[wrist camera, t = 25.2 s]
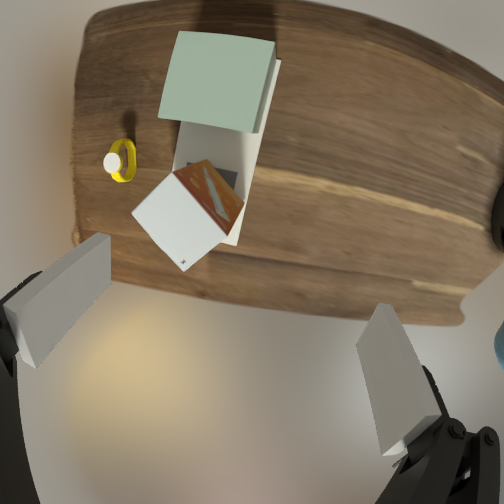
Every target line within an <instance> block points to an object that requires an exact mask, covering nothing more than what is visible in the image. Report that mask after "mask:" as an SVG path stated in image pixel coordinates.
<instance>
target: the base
mask: <svg viewBox="0 0 504 504" xmlns="http://www.w3.org/2000/svg"><path fill="white" fill-rule="evenodd" d="M280 64H281V60H278V59H276V66H275V70H274V74H273V78H272V82H271V86H270V90H269V94H268V98H267V102H266V106H265V110H264V114H263V118H262V122H261V126H260V130H259V133H254V134H252V133H247V132H243V131H238V130H233V129H228V128H222V127H217V126H211V125H206V124H200V123H193V122H187V121H181V125H180V130H179V135H178V140H177V146H176V151H175V157H174V163H173V169H172V172H173V171H175V170H178V169H181V168H183V167H186V166H188V165H191V164H194V163H196V162H199V161H202V160H205V159H207V160H208V161H209V162H210V163H211V164H212V166H213V167H214V168H215V169H216V170H217V172H218V173H219V174H220V175H221V176H222V178H223V179H224V180H225V181H226V182H227V183H228V185H229V186H230V187H231V188H232V189H233V190H234V191H235V193H236V194H237V195H238V196H239V197H240V198H241V199H242V200H243V201H244V203H245V204H244V206H243V208H242V210H241V212H240V214H239V216H238V218H237V220H236V222H235V224H234V226H233V227H232V229H231V231H230V233H229V235H228V237H227V238H225V239H224V240H222V241H221V242H222V243H226V244H230V245H234V246H237V242H238V238H239V233H240V229H241V224H242V220H243V216H244V211H245V207H246V203H247V198H248V194H249V190H250V186H251V181H252V177H253V173H254V169H255V165H256V160H257V156H258V152H259V148H260V144H261V140H262V136H263V131H264V127H265V123H266V119H267V115H268V111H269V107H270V103H271V99H272V95H273V91H274V87H275V83H276V79H277V75H278V72H279V68H280Z"/></svg>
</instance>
